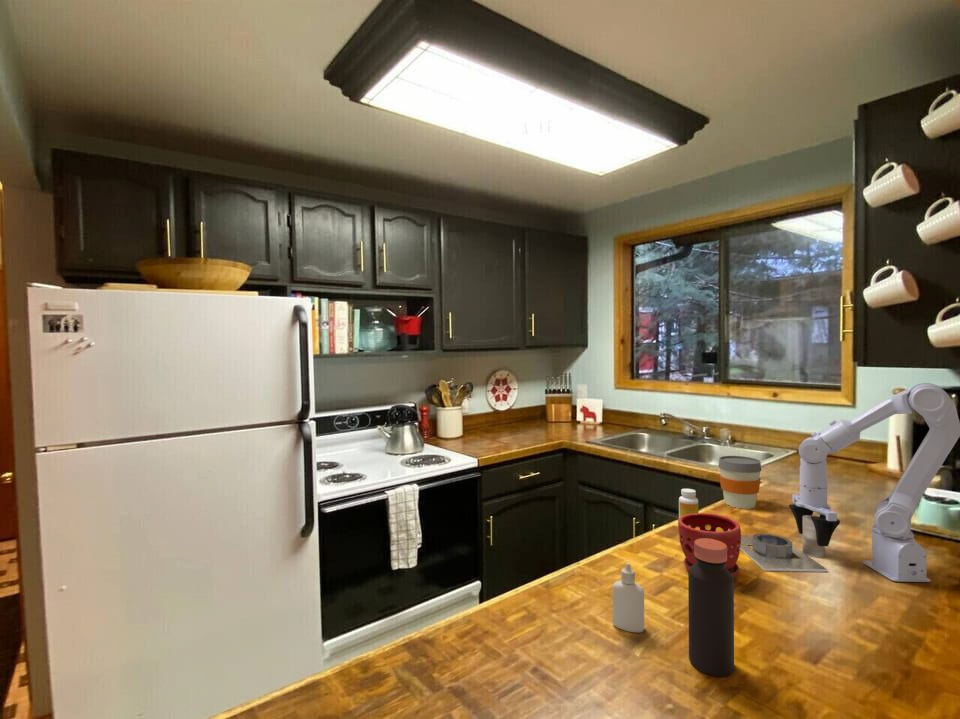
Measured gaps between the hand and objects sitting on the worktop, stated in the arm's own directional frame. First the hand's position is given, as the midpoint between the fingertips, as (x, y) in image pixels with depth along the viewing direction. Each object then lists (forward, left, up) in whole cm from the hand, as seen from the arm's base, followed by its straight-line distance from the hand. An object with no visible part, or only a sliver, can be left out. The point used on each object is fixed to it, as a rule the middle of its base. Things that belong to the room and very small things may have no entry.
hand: (813, 539), depth 119 cm
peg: (0, 0, -4) cm, 4 cm away
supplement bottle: (+21, +23, -4) cm, 31 cm away
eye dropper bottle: (-34, +54, -4) cm, 64 cm away
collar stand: (0, +10, -4) cm, 11 cm away
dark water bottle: (-44, +43, -4) cm, 62 cm away
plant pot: (-11, +30, -4) cm, 32 cm away
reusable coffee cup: (+38, 0, -4) cm, 38 cm away
